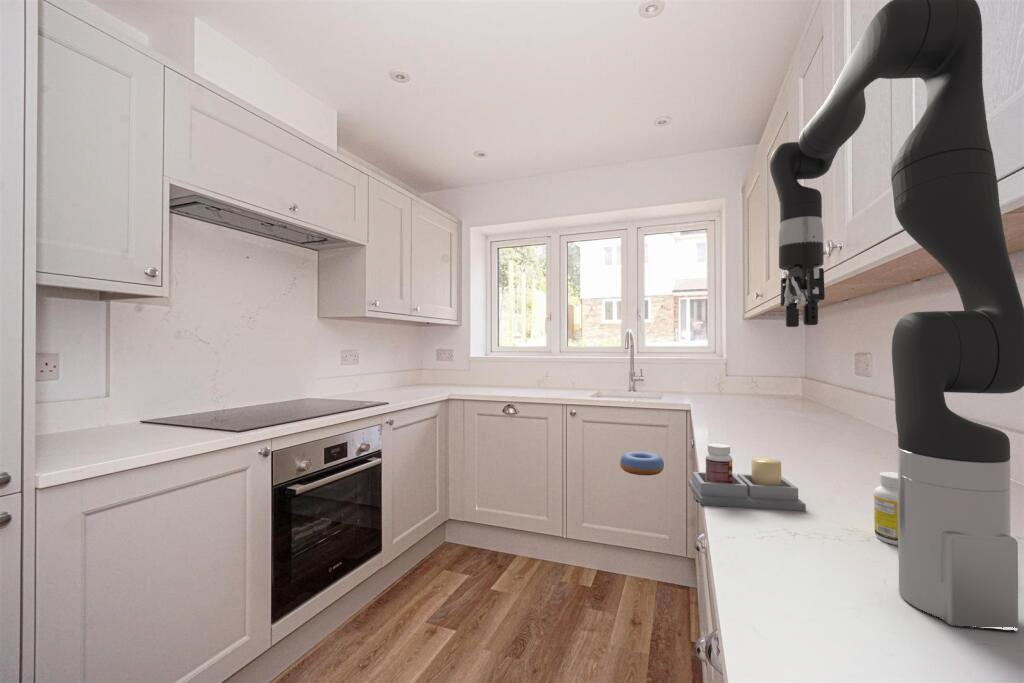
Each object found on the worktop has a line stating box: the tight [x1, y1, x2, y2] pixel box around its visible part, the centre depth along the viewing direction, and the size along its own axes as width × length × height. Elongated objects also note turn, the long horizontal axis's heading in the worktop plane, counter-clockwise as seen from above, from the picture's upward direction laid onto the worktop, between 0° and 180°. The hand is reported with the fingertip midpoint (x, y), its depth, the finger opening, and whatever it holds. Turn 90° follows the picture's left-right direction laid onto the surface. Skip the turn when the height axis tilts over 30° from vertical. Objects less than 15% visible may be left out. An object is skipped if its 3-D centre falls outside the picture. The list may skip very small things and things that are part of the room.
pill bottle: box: [705, 443, 733, 484], centre depth 91 cm, size 5×5×8 cm
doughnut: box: [619, 451, 665, 476], centre depth 110 cm, size 10×10×5 cm
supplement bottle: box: [873, 471, 898, 546], centre depth 71 cm, size 5×5×10 cm
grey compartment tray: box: [688, 457, 807, 512], centre depth 90 cm, size 12×18×7 cm
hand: (800, 326), depth 92 cm, fingers open, 8 cm apart
